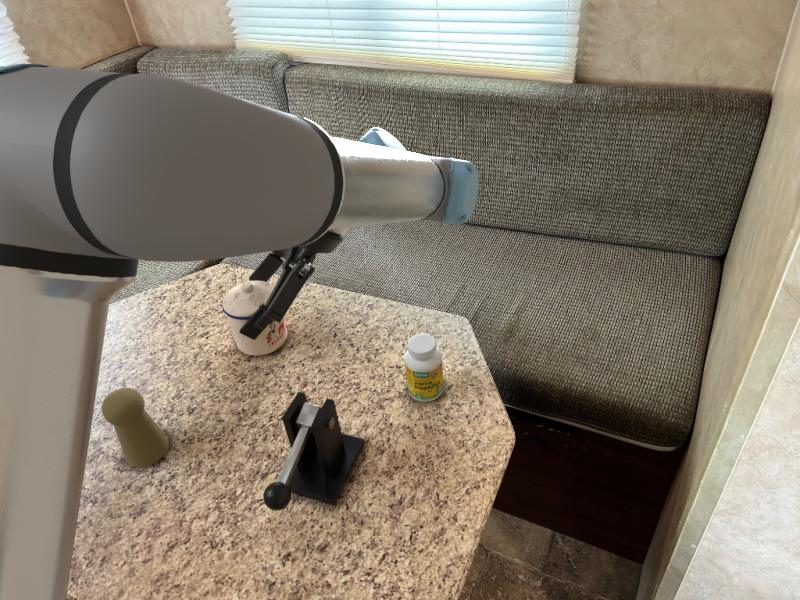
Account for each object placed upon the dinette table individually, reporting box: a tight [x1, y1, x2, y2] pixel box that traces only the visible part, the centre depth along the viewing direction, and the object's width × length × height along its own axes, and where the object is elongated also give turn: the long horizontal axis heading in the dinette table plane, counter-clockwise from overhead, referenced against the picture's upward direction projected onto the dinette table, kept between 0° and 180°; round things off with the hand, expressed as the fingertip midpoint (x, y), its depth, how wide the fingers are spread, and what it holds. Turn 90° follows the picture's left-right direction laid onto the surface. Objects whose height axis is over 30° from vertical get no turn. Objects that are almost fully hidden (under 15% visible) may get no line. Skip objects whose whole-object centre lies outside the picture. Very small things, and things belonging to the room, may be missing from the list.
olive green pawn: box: [101, 387, 170, 468], centre depth 83 cm, size 6×6×11 cm
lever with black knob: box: [262, 402, 322, 512], centre depth 73 cm, size 13×3×3 cm, turn 160°
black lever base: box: [281, 391, 366, 506], centre depth 78 cm, size 10×8×12 cm
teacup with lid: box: [221, 280, 288, 357], centre depth 100 cm, size 12×9×12 cm
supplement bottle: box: [404, 333, 445, 403], centre depth 88 cm, size 5×5×10 cm
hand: (251, 307), depth 100 cm, fingers open, 13 cm apart
